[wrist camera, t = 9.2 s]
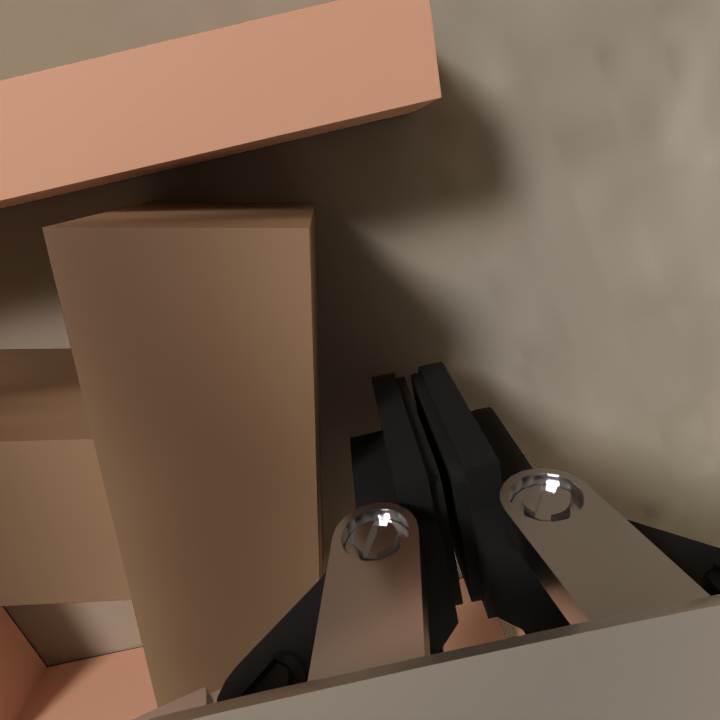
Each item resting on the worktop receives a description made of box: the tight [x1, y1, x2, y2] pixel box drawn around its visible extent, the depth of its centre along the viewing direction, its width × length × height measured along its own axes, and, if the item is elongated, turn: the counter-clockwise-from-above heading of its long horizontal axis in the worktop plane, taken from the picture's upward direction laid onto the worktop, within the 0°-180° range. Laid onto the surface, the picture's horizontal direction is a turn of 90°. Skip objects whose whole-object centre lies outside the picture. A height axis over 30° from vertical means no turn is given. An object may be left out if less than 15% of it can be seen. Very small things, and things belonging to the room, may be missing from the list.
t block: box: [0, 202, 323, 708], centre depth 10 cm, size 10×10×4 cm
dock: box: [0, 0, 507, 720], centre depth 11 cm, size 16×16×2 cm
